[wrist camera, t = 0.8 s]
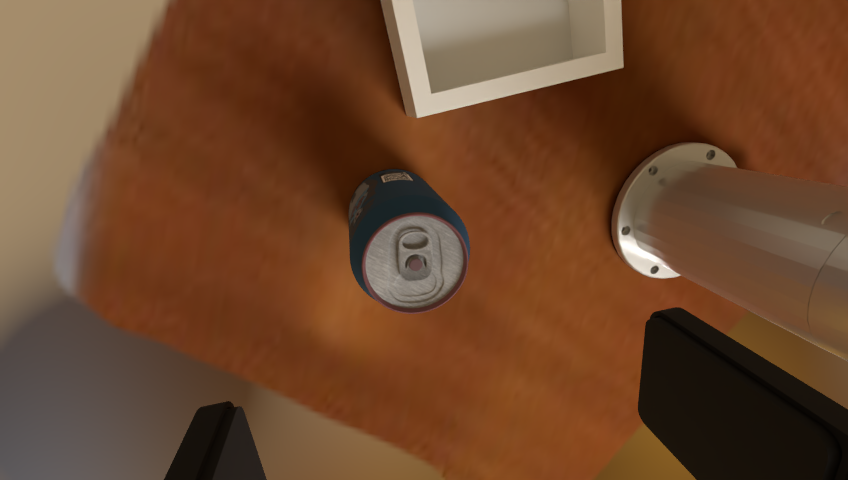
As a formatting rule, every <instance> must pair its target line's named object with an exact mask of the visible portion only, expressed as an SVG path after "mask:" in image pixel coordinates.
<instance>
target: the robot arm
mask: <svg viewBox="0 0 848 480" xmlns="http://www.w3.org/2000/svg"><path fill="white" fill-rule="evenodd" d="M612 237H613V242H614V246H615V248H616V250H617V252H618V255H619V256H620V257H621V258H622V260H623V261H624V262H625V263H626V264H627V265H628V266H630V267H631V268H632V269H634V270H636V271H637V272H639V273H641V274H643V275H646V276H648V277H652V278H662V279H664V278H673V277H677V276H680V275H682V276H683V277H685V278H687V279H689V280H691V281H693V282H695V283H697V284H699V285H701V286H703V287H705V288H707V289H709V290H711V291H712V292H714V293H716V294H718V295H720V296H722V297H724V298H726V299H728V300H730V301H732V302H734V303H736V304H738V305H740V306H741V307H743V308H745V309H747V310H749V311H751V312H753V313H755V314H757V315H759V316H761V317H763V318H765V319H767V320H769V321H771V322H773V323H775V324H777V325H778V326H780V327H782V328H784V329H786V330H788V331H790V332H792V333H794V334H796V335H798V336H800V337H802V338H803V339H805V340H807V341H809V342H811V343H813V344H815V345H817V346H819V347H821V348H823V349H825V350H827V351H829V352H831V353H833V354H835V355H837V356H839V357H841V358H843V359H845V360H847V361H848V187H845V186H840V185H834V184H828V183H822V182H816V181H810V180H804V179H798V178H792V177H786V176H783V175H774V174H769V173H763V172H757V171H751V170H745V169H739V168H737V166H736V164H735V162H734V161H733V160H732V159H731V157H730V156H729V155H728V154H727V153H726V152H724V151H723V150H721V149H719V148H718V147H715V146H712V145H709V144H705V143H697V142H684V143H678V144H674V145H670V146H667V147H665V148H663V149H661V150H659V151H657V152H655V153H654V154H652V155H651V156H649V157H648V158H647V159H645V160H644V161H643V162H642V163H641V164H640V165H639V166H638V167H637V168H636V169H635V170H634V171H633V172H632V174H631V175H630V176H629V178H628V179H627V180H626V182H625V183H624V185H623V187H622V189H621V191H620V192H619V194H618V197H617V200H616V203H615V206H614V209H613V215H612ZM638 412H639V415H640V417H641V419H642V421H643V422H644V424H645V425H646V426H647V427H648V428H649V429H650V430H651V431H652V432H653V434H654V435H655V436H656V437H657V438H658V439H659V440H660V441H661V442H662V443H663V444H664V445H665V446H666V447H667V448H668V450H669V451H670V452H671V453H672V454H673V455H674V456H675V457H676V458H677V459H678V460H679V461H680V462H681V464H682V465H684V467H685V468H686V469H687V470H688V471H689V472H690V473H691V474H692V475H693V476H694V477H695V479H696V480H848V409H846V408H844V407H843V406H841V405H840V404H838V403H836V402H835V401H833V400H831V399H830V398H828V397H826V396H825V395H823V394H822V393H820V392H818V391H817V390H815V389H813V388H812V387H810V386H808V385H807V384H805V383H804V382H802V381H800V380H799V379H797V378H795V377H794V376H792V375H790V374H789V373H787V372H786V371H784V370H782V369H781V368H779V367H777V366H776V365H774V364H772V363H771V362H769V361H767V360H766V359H764V358H763V357H761V356H759V355H758V354H756V353H754V352H753V351H751V350H750V349H748V348H746V347H745V346H743V345H741V344H740V343H738V342H736V341H735V340H733V339H732V338H730V337H728V336H727V335H725V334H723V333H722V332H720V331H718V330H717V329H715V328H713V327H712V326H710V325H709V324H707V323H705V322H704V321H702V320H700V319H699V318H697V317H695V316H694V315H692V314H691V313H689V312H687V311H686V310H684V309H682V308H671V309H666V310H661V311H656V312H654V313H653V314H652V315H651V317H650V320H648V321H647V322H646V326H645V337H644V347H643V358H642V369H641V379H640V390H639V401H638ZM164 480H267V479H266V476H265V473H264V470H263V467H262V464H261V461H260V458H259V455H258V452H257V449H256V446H255V443H254V440H253V437H252V434H251V431H250V428H249V425H248V422H247V419H246V416H245V413H244V410H243V408H242V407H240V406H239V407H234V406H233V404H232V403H231V402H229V401H228V402H223V403H218V404H213V405H208V406H204V407H200V408H199V409H198V410H197V412H196V413H195V416H194V418H193V420H192V422H191V424H190V426H189V428H188V430H187V432H186V434H185V437H184V439H183V441H182V443H181V445H180V447H179V449H178V451H177V453H176V456H175V458H174V460H173V462H172V464H171V466H170V468H169V470H168V472H167V474H166V477H165V479H164Z"/></svg>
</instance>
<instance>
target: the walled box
mask: <svg viewBox="0 0 848 480" xmlns="http://www.w3.org/2000/svg"><path fill="white" fill-rule="evenodd" d="M380 1H381V6H382V10H383V14H384V19H385V23H386V28H387V32H388V37H389V41H390V45H391V50H392V54H393V59H394V63H395V68H396V72H397V76H398V81H399V85H400V90H401V94H402V99H403V103H404V107H405V112H406V116H411V117H415V118H419V117H423V116H428V115H432V114H436V113H440V112H444V111H448V110H452V109H456V108H460V107H464V106H469V105H473V104H477V103H481V102H485V101H489V100H493V99H497V98H501V97H505V96H510V95H514V94H518V93H522V92H526V91H530V90H534V89H538V88H542V87H546V86H550V85H555V84H559V83H563V82H567V81H571V80H575V79H579V78H583V77H587V76H591V75H596V74H600V73H604V72H608V71H612V70H616V69H620V68H624V65H623V38H622V11H621V0H380Z"/></svg>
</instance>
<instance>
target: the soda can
mask: <svg viewBox="0 0 848 480" xmlns="http://www.w3.org/2000/svg"><path fill="white" fill-rule="evenodd" d="M349 242H350V263H351V268H352V271H353V274H354V276H355V278H356V280H357V282H358V284H359V285H360V286H361V288H362V289H363V290H364V291H365V292H366V293H367V294H368V295H369V296H370V297H372V298H373V299H375V300H376V301H378V302H379V303H380V304H382V305H383V306H385V307H387V308H389V309H391V310H393V311H397V312H401V313H408V314H415V313H423V312H427V311H430V310H433V309H435V308H437V307H439V306H441V305H443V304H444V303H446V302H447V301H448V300H449V299H451V298H452V297H453V296H454V295H455V294H456V292H457V291H458V290H459V288H460V287H461V285H462V284H463V282H464V279H465V277H466V274H467V269H468V261H469V255H470V243H469V237H468V233H467V230H466V228H465V225H464V223H463V222H462V220H461V219H460V217H459V216H458V215H457V213H456V212H455V211H454V210H453V209H452V208H451V207H450V206H449V205H448V204H447V203H446V202H445V201H444V200H443V199H442V198H441V197H440V196H439V195H438V194H437V193H436V192H435V191H434V190H433V189H432V188H431V187H430V186H429V185H428V184H427V183H426V182H425V181H424V180H423V179H422V178H420V177H419V176H417V175H416V174H414V173H411V172H409V171H405V170H400V169H389V170H383V171H380V172H377V173H375V174H373V175H371V176H369V177H368V178H366V179H365V180H364V181H363V182H362V183H361V184H360V185H359V186H358V187H357V189H356V190H355V192H354V194H353V196H352V198H351V201H350V205H349Z"/></svg>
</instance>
